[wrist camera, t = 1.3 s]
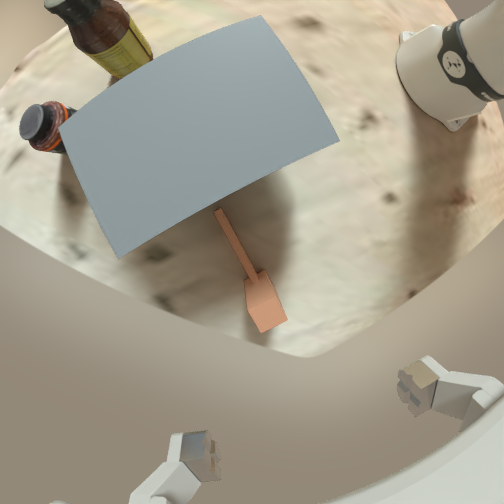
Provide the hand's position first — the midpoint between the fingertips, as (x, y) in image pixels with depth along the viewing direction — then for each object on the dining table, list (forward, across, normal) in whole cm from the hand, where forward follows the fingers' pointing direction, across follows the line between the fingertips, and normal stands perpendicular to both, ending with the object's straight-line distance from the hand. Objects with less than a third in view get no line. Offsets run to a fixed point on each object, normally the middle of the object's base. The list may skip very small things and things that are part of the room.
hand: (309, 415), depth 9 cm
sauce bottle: (+26, +9, -31) cm, 41 cm away
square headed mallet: (+26, +1, -2) cm, 26 cm away
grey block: (+26, +2, -15) cm, 30 cm away
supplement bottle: (+26, +18, -23) cm, 40 cm away
